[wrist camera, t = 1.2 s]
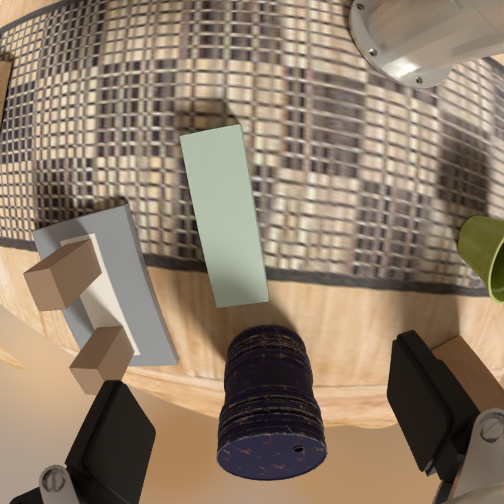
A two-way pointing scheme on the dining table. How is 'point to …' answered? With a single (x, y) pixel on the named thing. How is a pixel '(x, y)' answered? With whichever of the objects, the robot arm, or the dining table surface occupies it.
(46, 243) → the board
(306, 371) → the dark blue cylinder
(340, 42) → the dining table surface
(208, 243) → the lintel
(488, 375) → the wooden block
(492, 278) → the plant pot
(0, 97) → the brown boot
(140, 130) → the dining table surface
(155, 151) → the dining table surface
